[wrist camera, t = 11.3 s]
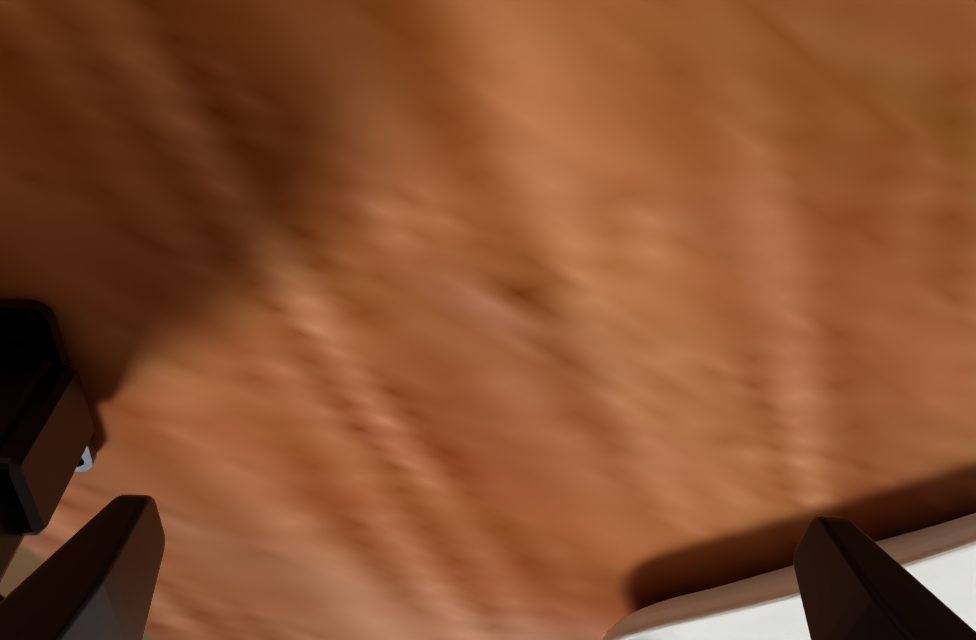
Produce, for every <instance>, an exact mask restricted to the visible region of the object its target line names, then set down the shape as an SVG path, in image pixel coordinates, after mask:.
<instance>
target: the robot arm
mask: <svg viewBox="0 0 976 640" xmlns="http://www.w3.org/2000/svg"><path fill="white" fill-rule="evenodd" d="M27 315H29V316H33V317H35V318H36V319H38V321H39V322H35V321H32V320H31V319H29V318H28V317H27ZM93 433H94V425H93V422H92V419H91V415H90V412H89V409H88V405H87V402H86V399H85V395H84V392H83V389H82V385H81V382H80V379H79V375H78V373H77V371H76V370H75V369H74V368H73V367H72V366H71V365H70V364H69V361H68V357H67V354H66V351H65V348H64V344H63V341H62V338H61V334H60V331H59V328H58V325H57V321H56V318H55V315H54V313H53V311H52V310H51V309H50V308H49V307H48V306H47V305H46V304H43V303H41V302H39V301H34V300H2V299H0V582H1V580H2V578H3V576H4V574H5V572H6V570H7V568H8V566H9V564H10V563H11V561H12V559H13V557H14V555H15V553H16V550H17V549H18V547H19V545H20V544H21V542H22V540H23V538H24V536H25V535H38V534H39V533H40V532H42V531H43V530H44V529H45V528H46V527H47V525H48V523H49V521H50V519H51V517H52V515H53V513H54V511H55V509H56V507H57V505H58V503H59V501H60V499H61V497H62V495H63V493H64V491H65V489H66V487H67V485H68V483H69V481H70V479H71V477H72V475H73V473H74V472H83V471H86V470H88V469H90V468H91V466H92V465H93V463H94V460H95V458H96V449H95V446H94V443H93V439H92V435H93ZM164 546H165V535H164V531H163V527H162V523H161V520H160V516H159V513H158V509H157V506H156V503H155V500H154V499H153V498H152V497H151V496H148V495H121V496H118V497H117V498H115V499H114V500H112V501H111V502H110V503H109V504H108V505H107V506H106V507H105V508H103V509H102V510H101V511H100V512H99V513H98V514H97V515H96V516H95V517H94V518H92V519H91V520H90V521H89V522H88V523H87V524H86V525H85V526H84V527H83V528H81V529H80V530H79V531H78V532H77V533H76V534H75V535H74V536H73V537H72V538H70V539H69V540H68V541H67V542H66V543H65V544H64V545H63V546H62V547H61V548H59V549H58V550H57V551H56V552H55V553H54V554H53V555H52V556H51V557H50V558H48V559H47V560H46V561H45V562H44V563H43V564H42V565H41V566H40V567H39V568H37V569H36V570H35V571H34V572H33V573H32V574H31V575H30V576H29V577H27V578H26V579H25V580H24V581H23V582H22V583H21V584H20V585H19V586H18V587H17V588H15V589H14V590H13V591H12V592H11V593H10V594H9V595H8V596H7V597H5V596H3V595H2V594H1V593H0V640H142V637H143V633H144V629H145V625H146V621H147V617H148V613H149V609H150V605H151V601H152V597H153V593H154V589H155V585H156V581H157V577H158V573H159V569H160V565H161V560H162V556H163V552H164ZM793 564H794V570H795V574H796V578H797V583H798V587H799V591H800V595H801V600H802V604H803V608H804V612H805V616H806V621H807V625H808V629H809V633H810V638H811V640H976V631H974V630H973V629H972V628H971V627H970V626H969V625H968V624H967V623H965V622H964V621H963V620H962V619H961V618H960V617H959V616H958V615H956V614H955V613H954V612H953V611H952V610H951V609H950V608H949V607H947V606H946V605H945V604H944V603H943V602H942V601H941V600H940V599H938V598H937V597H936V596H935V595H934V594H933V593H932V592H931V591H929V590H928V589H927V588H926V587H925V586H924V585H923V584H921V583H920V582H919V581H918V580H917V579H916V578H915V577H914V576H912V575H911V574H910V573H909V572H908V571H907V570H906V569H905V568H903V567H902V566H901V565H900V564H899V563H898V562H897V561H896V560H894V559H893V558H892V557H891V556H890V555H889V554H888V553H887V552H885V551H884V550H883V549H882V548H881V547H880V546H879V545H878V544H876V543H875V542H874V541H873V540H872V539H871V538H870V537H869V536H867V535H866V534H865V533H864V532H863V531H862V530H861V529H859V528H858V527H857V526H856V525H855V524H854V523H853V522H851V521H850V520H849V519H847V518H845V517H843V516H828V515H818V516H816V517H814V518H813V519H812V520H811V521H810V523H809V525H808V527H807V528H806V530H805V532H804V534H803V535H802V537H801V539H800V541H799V543H798V544H797V546H796V548H795V551H794V555H793Z"/></svg>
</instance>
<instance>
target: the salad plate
mask: <svg viewBox="0 0 976 640" xmlns="http://www.w3.org/2000/svg"><path fill="white" fill-rule="evenodd" d="M875 543H876V544H878V545H879V546H880V547H881V548H882V549H883V550H884V551H885V552H887V553H888V554H889V555H890V556H891V557H892V558H893V559H894V560H896V561H897V562H898V563H899V564H900V565H901V566H902V567H903V568H905V569H906V570H907V571H908V572H909V573H910V574H911V575H912V576H914V577H915V578H916V579H917V580H918V581H919V582H920V583H921V584H923V585H924V586H925V587H926V588H927V589H928V590H929V591H931V592H932V593H933V594H934V595H935V596H936V597H937V598H938V599H940V600H941V601H942V602H943V603H944V604H945V605H946V606H947V607H949V608H950V609H951V610H952V611H953V612H954V613H955V614H956V615H958V616H959V617H960V618H961V619H962V620H963V621H964V622H965V623H967V624H968V625H969V626H970V627H971V628H972V629H973V630H974V631H976V513H973V514H970V515H967V516H964V517H961V518H958V519H955V520H951V521H948V522H945V523H941V524H938V525H935V526H931V527H928V528H924V529H920V530H917V531H913V532H910V533H906V534H902V535H899V536H895V537H891V538H888V539H884V540H880V541H877V542H875ZM603 640H811V638H810V633H809V629H808V625H807V621H806V616H805V612H804V608H803V604H802V600H801V595H800V591H799V587H798V583H797V578H796V574H795V570H794V565H792V566H788V567H785V568H781V569H778V570H775V571H771V572H768V573H764V574H761V575H757V576H754V577H750V578H747V579H743V580H740V581H737V582H733V583H730V584H726V585H723V586H719V587H715V588H711V589H707V590H703V591H699V592H695V593H691V594H687V595H682V596H678V597H674V598H671V599H668V600H664V601H661V602H658V603H655V604H652V605H650V606H647V607H645V608H642V609H640V610H638V611H636V612H634V613H632V614H630V615H628V616H626V617H625V618H623V619H622V620H620V621H619V622H618V623H617V624H615V625H614V626H613V627H612V628H611V629H610V630H609V631H608V632H607V634H606V635H605V637H604V638H603Z"/></svg>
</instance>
